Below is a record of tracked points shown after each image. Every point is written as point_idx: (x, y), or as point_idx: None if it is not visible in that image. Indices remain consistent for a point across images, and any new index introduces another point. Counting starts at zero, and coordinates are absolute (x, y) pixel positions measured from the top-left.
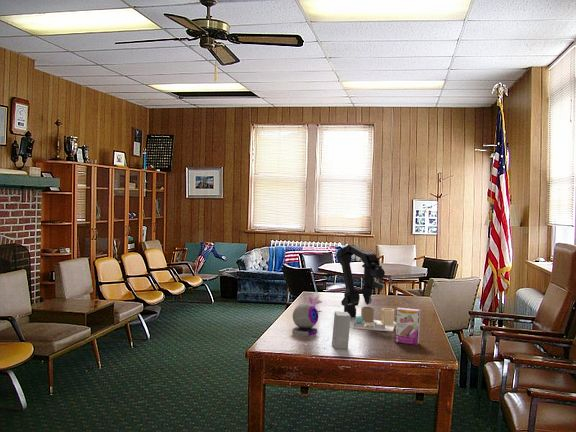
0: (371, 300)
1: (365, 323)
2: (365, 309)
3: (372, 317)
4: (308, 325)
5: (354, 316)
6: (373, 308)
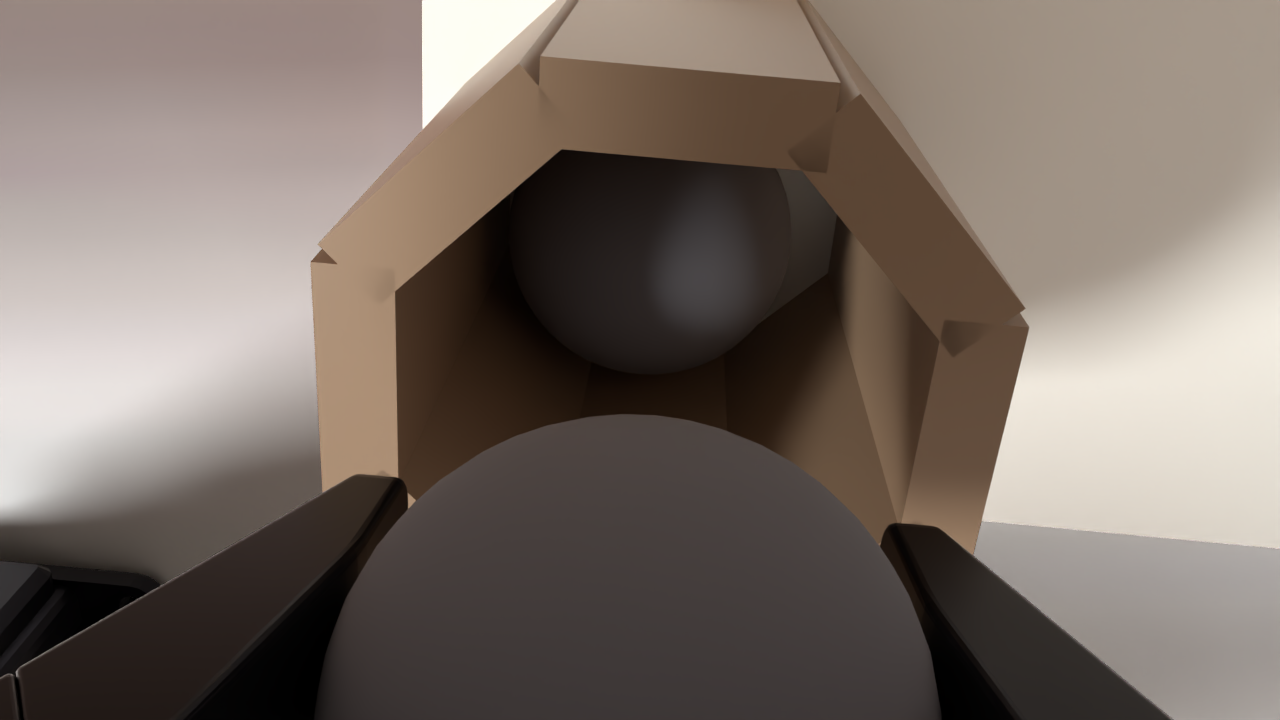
0: (735, 490)
1: (1096, 245)
2: (976, 503)
3: (838, 45)
4: None
5: (112, 579)
6: (767, 102)
